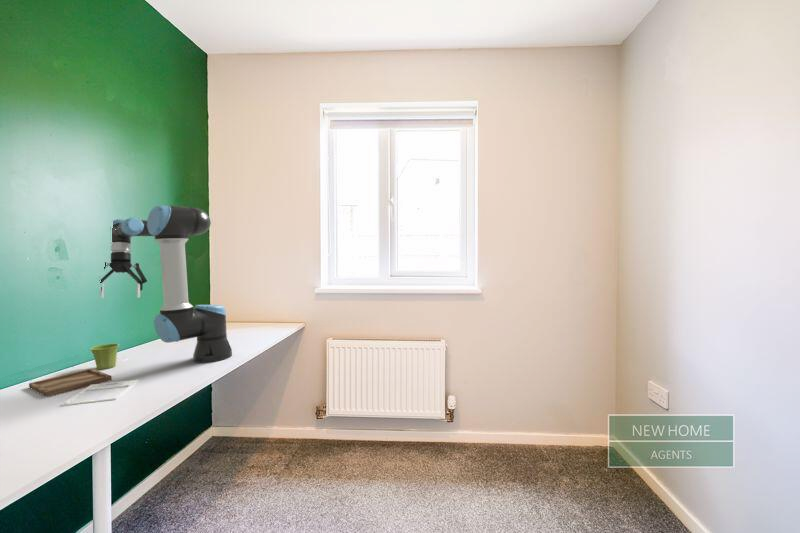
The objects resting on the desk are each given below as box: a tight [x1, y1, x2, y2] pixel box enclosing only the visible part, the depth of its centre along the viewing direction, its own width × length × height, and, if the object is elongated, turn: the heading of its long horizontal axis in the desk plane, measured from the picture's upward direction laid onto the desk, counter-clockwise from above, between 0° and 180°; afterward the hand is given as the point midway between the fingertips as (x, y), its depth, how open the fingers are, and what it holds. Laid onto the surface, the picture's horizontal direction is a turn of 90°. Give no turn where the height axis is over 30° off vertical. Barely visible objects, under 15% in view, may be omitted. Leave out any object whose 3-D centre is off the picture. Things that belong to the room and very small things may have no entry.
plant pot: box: [89, 343, 120, 370], centre depth 155 cm, size 9×9×9 cm
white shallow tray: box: [60, 379, 140, 407], centre depth 127 cm, size 15×1×18 cm
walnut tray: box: [28, 368, 113, 398], centre depth 136 cm, size 18×18×2 cm
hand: (120, 298), depth 174 cm, fingers open, 13 cm apart
